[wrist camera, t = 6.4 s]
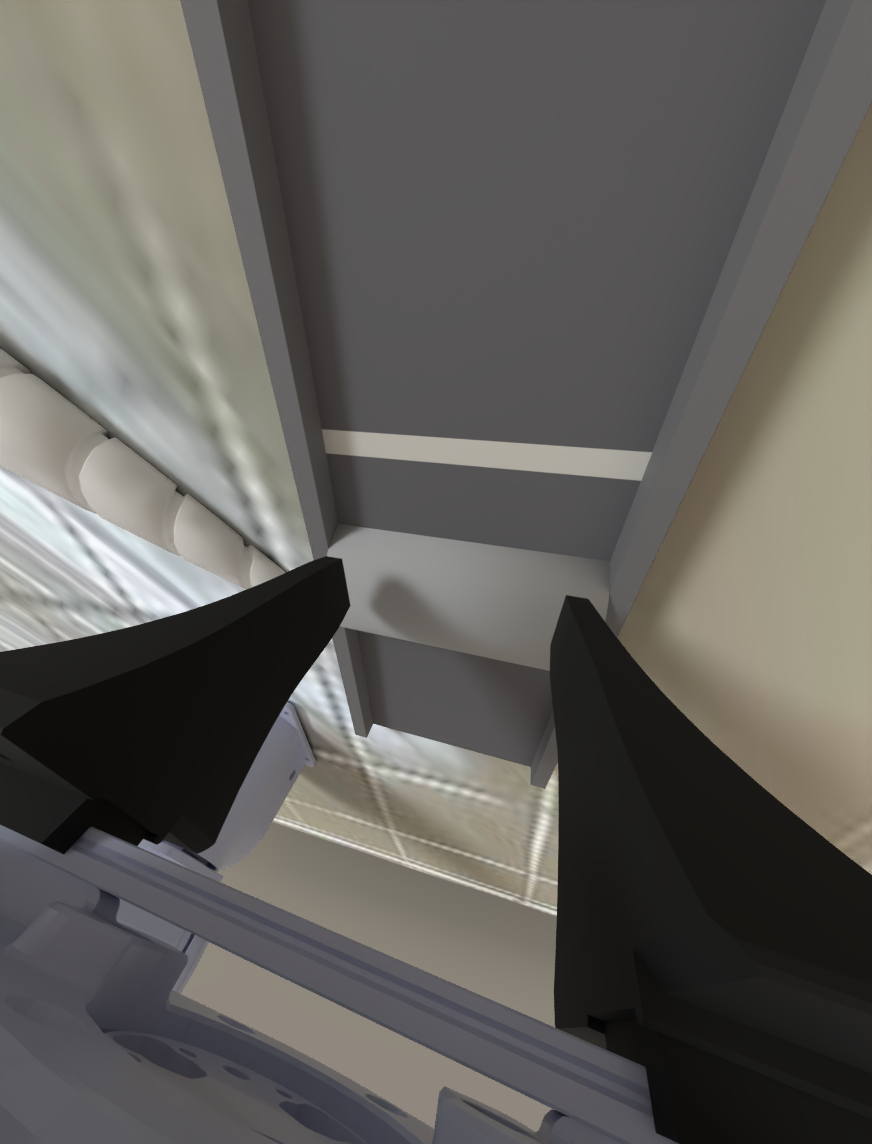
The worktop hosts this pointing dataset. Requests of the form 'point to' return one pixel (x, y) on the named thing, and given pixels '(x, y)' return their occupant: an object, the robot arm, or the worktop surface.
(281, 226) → the divided tray
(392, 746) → the worktop surface
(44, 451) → the unicorn horn
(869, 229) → the worktop surface
